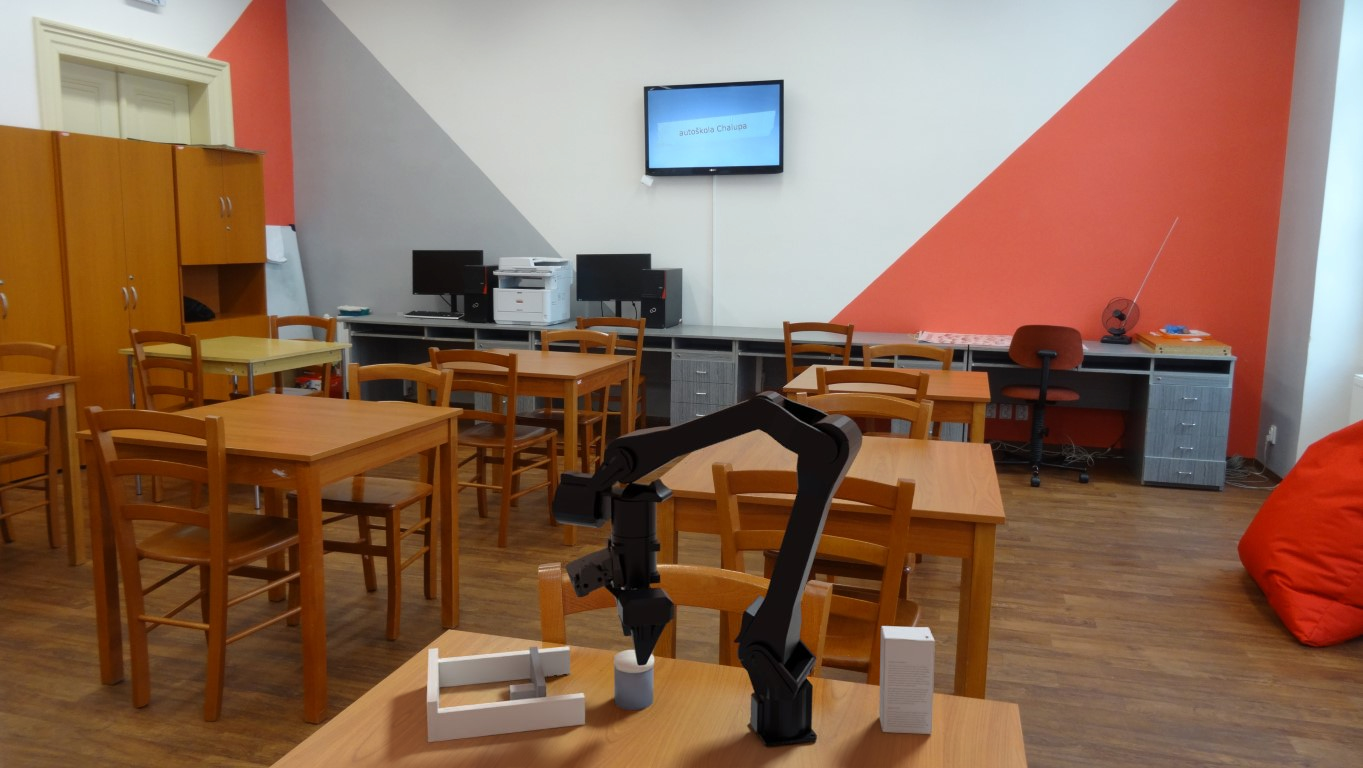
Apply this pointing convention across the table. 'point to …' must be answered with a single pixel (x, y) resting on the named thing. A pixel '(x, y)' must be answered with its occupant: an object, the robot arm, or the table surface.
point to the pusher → (537, 680)
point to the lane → (498, 714)
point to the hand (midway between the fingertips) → (634, 649)
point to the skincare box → (906, 679)
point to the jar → (632, 681)
